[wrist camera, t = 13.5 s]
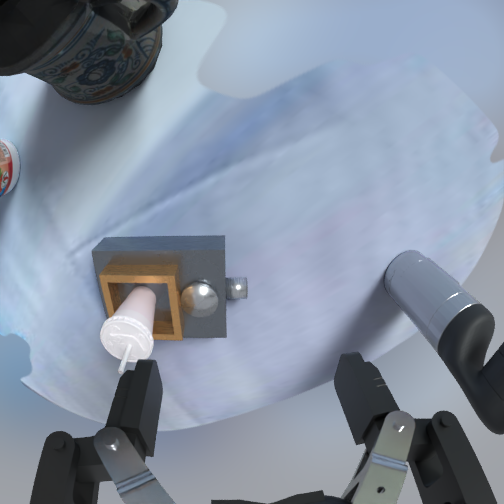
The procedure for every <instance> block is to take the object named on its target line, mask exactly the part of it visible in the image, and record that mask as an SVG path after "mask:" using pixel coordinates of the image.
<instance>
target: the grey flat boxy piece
mask: <svg viewBox="0 0 504 504" xmlns="http://www.w3.org/2000/svg"><path fill="white" fill-rule="evenodd" d="M92 257H93V262H94V267H95V271H96V276H97V281H98V285H99V289H100V293H101V298H102V302H103V305H104V309H105V313H106V317H107V319H108V318H111V317H112V316H113V315H114V313H115V312H116V311H117V310H118V308H119V307H120V306H121V304H122V303H123V302H124V300H125V299H126V298H127V297H128V295H129V294H130V293H131V292H132V290H133V289H134V288H136V287H139V286H144V287H147V288H149V289H151V290H152V291H153V292H154V294H155V296H156V305H155V314H154V322H153V333H152V337H153V340H183V338H227V333H226V299H247V278H225V236H155V237H108V238H103V240H102V241H101V242H100V243H99V244H98V245H97V246H96V247H95V248H94V249H93V250H92Z"/></svg>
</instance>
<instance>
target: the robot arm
mask: <svg viewBox="0 0 504 504" xmlns="http://www.w3.org/2000/svg"><path fill="white" fill-rule="evenodd" d="M384 284H385V288H386V290H387V292H388V293H389V295H390V296H391V297H392V298H393V299H394V300H395V302H396V303H397V304H398V305H399V306H400V308H401V309H402V310H403V311H404V312H405V314H406V315H407V316H408V317H409V318H410V320H411V321H412V322H413V323H414V324H415V326H416V327H417V328H418V329H419V331H420V332H421V333H422V334H423V336H424V337H425V338H426V339H427V341H428V342H429V343H430V344H431V345H432V347H433V348H434V349H435V351H436V352H437V353H438V355H439V356H440V357H441V359H442V360H443V361H444V363H445V365H446V366H447V367H448V369H449V371H450V372H451V373H452V375H453V376H454V378H455V379H456V381H457V382H458V384H459V385H460V387H461V388H462V390H463V392H464V393H465V395H466V397H467V399H468V400H469V402H470V404H471V406H472V407H473V409H474V411H475V412H476V414H477V415H478V417H479V418H480V420H481V421H482V422H483V423H484V425H485V426H486V427H487V428H488V429H489V430H490V431H491V432H493V433H495V434H504V342H503V344H502V345H501V346H500V347H499V350H497V351H496V352H495V354H494V355H493V356H492V358H491V359H490V360H489V361H488V362H487V363H486V365H485V366H484V367H483V364H484V359H485V355H486V352H487V349H488V346H489V344H490V341H491V339H492V336H493V333H494V328H495V321H494V317H493V315H492V314H491V313H490V311H489V310H488V309H486V308H485V307H484V306H483V305H482V304H481V303H480V302H479V301H478V300H476V299H475V298H474V297H473V296H472V295H471V294H469V293H468V292H467V291H466V290H465V289H464V288H463V287H462V286H460V285H459V282H458V281H456V280H455V279H454V278H453V277H452V276H450V275H449V274H448V273H447V272H446V271H444V270H443V269H442V268H441V267H439V266H438V265H437V264H436V263H434V262H433V261H432V260H431V259H429V258H426V257H425V256H424V255H423V254H421V253H420V252H418V251H406V252H404V253H402V254H400V255H399V256H397V257H396V258H395V259H394V260H393V261H392V263H391V264H390V265H389V267H388V269H387V271H386V274H385V280H384ZM334 385H335V389H336V392H337V395H338V398H339V400H340V403H341V406H342V408H343V411H344V414H345V416H346V419H347V422H348V424H349V427H350V430H351V432H352V435H353V438H354V441H355V443H356V445H358V444H363V443H365V446H366V449H365V451H364V453H363V456H362V458H361V460H360V462H359V465H358V467H357V469H356V472H355V473H354V476H353V478H352V480H351V482H350V483H349V485H348V487H347V488H346V490H345V491H344V493H343V495H342V496H341V498H338V497H334V496H326V495H324V493H323V491H322V490H321V491H316V492H310V493H304V494H297V495H294V496H291V497H288V498H286V499H283V500H280V501H277V502H274V503H270V504H396V503H397V500H398V497H399V495H400V492H401V489H402V486H403V483H404V480H405V477H406V474H407V470H408V466H406V465H405V463H406V461H408V462H409V465H410V468H411V470H412V473H413V476H414V479H415V482H416V484H417V487H418V490H419V493H420V496H421V499H422V502H423V504H497V502H496V499H495V497H494V494H493V492H492V490H491V487H490V485H489V483H488V481H487V478H486V476H485V474H484V471H483V469H482V467H481V465H480V463H479V461H478V459H477V456H476V454H475V452H474V450H473V449H472V446H471V445H470V442H469V440H468V438H467V437H466V435H465V433H464V431H463V429H462V427H461V425H460V423H459V421H458V420H457V418H456V416H455V415H454V414H452V413H451V412H448V411H439V412H437V413H436V414H434V416H433V418H432V419H414V418H413V417H412V416H411V415H410V414H409V413H407V412H404V411H400V409H399V407H398V405H397V404H396V402H395V400H394V398H393V396H392V394H391V392H390V390H389V389H388V387H387V385H386V383H385V381H384V379H382V376H381V374H380V372H379V370H378V368H376V367H375V366H374V365H373V364H372V363H371V362H364V360H363V358H362V356H361V354H360V353H359V352H353V353H346V354H342V355H341V357H340V360H339V364H338V367H337V370H336V374H335V377H334ZM162 394H163V388H162V381H161V378H160V374H159V370H158V366H157V362H156V360H146V359H138V361H137V364H136V367H135V370H127V371H126V372H125V373H124V374H123V375H122V376H121V378H120V380H119V383H118V386H117V389H116V392H115V397H114V399H113V402H112V406H111V409H110V413H109V416H108V419H107V423H106V426H105V428H103V429H101V430H99V431H98V432H97V433H96V435H95V436H92V437H84V438H72V436H71V435H70V434H68V433H66V432H63V431H57V432H53V433H52V434H50V435H49V436H48V437H47V438H46V441H45V443H44V447H43V450H42V454H41V458H40V462H39V465H38V469H37V473H36V477H35V481H34V486H33V490H32V495H31V500H30V504H97V500H98V491H99V483H100V482H102V481H114V483H115V485H116V487H117V491H118V493H119V495H120V497H121V498H122V500H123V501H124V503H125V504H176V503H175V502H174V501H173V500H172V498H171V497H170V496H169V495H168V493H167V492H166V491H165V490H164V488H163V487H162V486H161V485H160V483H159V482H158V480H157V479H156V478H155V476H154V475H153V474H152V473H151V471H150V470H149V469H148V467H147V466H146V464H145V457H146V456H150V457H153V456H154V448H155V440H156V434H157V427H158V420H159V413H160V407H161V401H162ZM211 504H265V503H258V502H251V501H244V500H211Z"/></svg>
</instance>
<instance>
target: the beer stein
mask: <svg viewBox="0 0 504 504" xmlns="http://www.w3.org/2000/svg"><path fill="white" fill-rule="evenodd" d="M177 5H178V0H0V76H11V75H16V74H20V73H27V74H29V75H32V76H34V77H36V78H38V79H41V80H43V81H45V82H47V83H49V84H51V85H52V86H53V87H54V89H55V90H56V91H57V92H58V93H59V94H60V95H61V96H62V97H64V98H65V99H67V100H69V101H72V102H74V103H78V104H83V105H95V104H100V103H105V102H108V101H111V100H113V99H115V98H119V97H122V96H123V95H125V94H126V93H128V92H129V91H131V90H132V89H134V88H135V87H137V86H138V85H140V83H141V82H142V81H143V80H144V79H145V78H146V76H147V75H148V74H149V73H150V72H151V71H152V70H153V69H154V67H155V64H156V61H157V58H158V55H159V53H160V50H161V47H162V24H163V23H164V22H165V21H166V20H167V19H168V18H169V17H170V16H171V15H172V14H173V12H174V11H175V9H176V8H177Z"/></svg>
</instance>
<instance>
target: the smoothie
mask: <svg viewBox="0 0 504 504" xmlns="http://www.w3.org/2000/svg"><path fill="white" fill-rule="evenodd" d="M155 305H156V296H155V294H154V292H153V291H152V290H151V289H149V288H147V287H144V286H139V287H136V288H134V289H133V290H132V292H131V293H130V294H129V295H128V297H127V298H126V299H125V300H124V302H123V303H122V304H121V306H120V307H119V308H118V310H117V311H116V312H115V313H114V315H113V316H112V317H111V318H108V319H107V320H106V321H105V322H104V324H103V326H102V329H101V332H100V338H101V342H102V344H103V346H104V347H105V349H106V350H107V351H108V352H109V353H110V354H111V355H113V356H114V357H116V358H118V359H120V360H122V361H121V364H120V367H119V370H118V373H119V374H123V372H124V369H125V366H126V362H137V361H138V359H147V358H148V357H149V356H150V354H151V352H152V349H153V346H154V341H153V337H152V333H153V322H154V314H155Z"/></svg>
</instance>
